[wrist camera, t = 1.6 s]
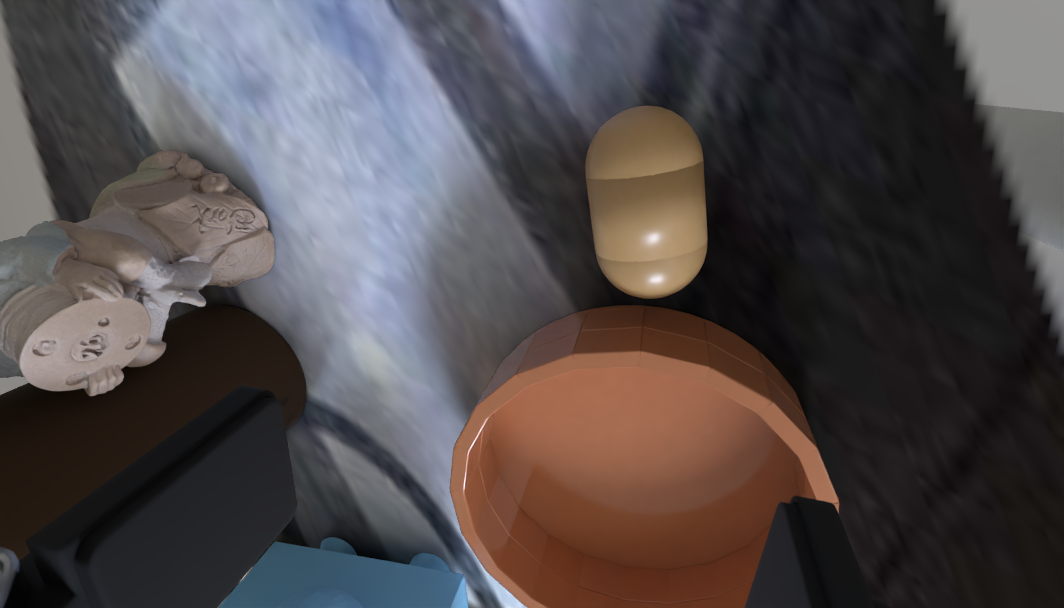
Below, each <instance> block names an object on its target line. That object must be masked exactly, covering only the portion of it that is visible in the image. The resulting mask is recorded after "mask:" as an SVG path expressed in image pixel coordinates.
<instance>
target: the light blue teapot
mask: <svg viewBox="0 0 1064 608" xmlns="http://www.w3.org/2000/svg"><path fill="white" fill-rule="evenodd" d="M219 608H468V601H467V593H466V585H465V577H464V575H463V574H458V573H452V572H450V569H449V567H448V565H447V564H446V563H445V562H444V561H443V560H442V559H441V558H439V557H438V556H436V555H433V554H430V553H420V554H417V555H415V556H414V557H413V559H412V560H411V562H410V564H409V565H407V564H401V563H395V562H390V561H384V560H378V559H373V558H367V557H361V556H357V554H356V552H355V550H354V549H353V548H352V546H350V545H349V544H348V543H347V542H345V541H344V540H341V539H339V538H335V537H329V538H326V539H324V540H323V541H322V543H321V549H315V548H310V547H304V546H298V545H292V544H286V543H281V542H274V543H273V544H272V545H271V547H270V548H269V549H268V550H267V551H266V553H265V554H264V555H263V556H262V557H261V558H260V560H259V561H258V562H257V563H256V564H255V566H254V567H253V568H252V569H251V570H250V571H249V573H248V574H247V575H246V576H245V577H244V579H243V580H242V581H241V582H240V583H239V584H238V586H237V587H236V588H235V589H234V590H233V591H232V593H231V594H230V595H229V596H228V597H227V599H226V600H225V601H224V602H223V603H222V604H221V606H220V607H219Z"/></svg>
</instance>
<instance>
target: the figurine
mask: <svg viewBox="0 0 1064 608" xmlns="http://www.w3.org/2000/svg"><path fill="white" fill-rule="evenodd" d="M274 244H275V243H274V236H273V234H272V232H270V231H268V219H267V217H266V215H265V213H264V212H262V211H261V210H260V209H258V208H257V206H256V204H255V203H254V202H253V201H252V200H251V199H250V198H249V197H248V196H247V195H246V194H244V193H243V192H242V191H241V190H238V189H236V188H235V186H233V185H232V184H231V183H230V182H229V179H228V177H227V176H226V175H224V174H221V173H213V172H212V171H210V170H207V169H206V168H205V167H203V165H202V163H201V162H199V161H197V160H195V159H190V158H189V156H188V155H187V154H186V153H182V152H179V151H175V150H160V151H159V152H157V153H156V154H155V155H152V156H149V157H147V158H145V159H144V160H143V162H140V163H139V166H138V167H137V172H135V173H133V174H130V175H128V176H126V177H124V178H122V179H120V180H118V181H115V182H113V183H111V184H109V185H108V186H106V188H105V189H104V190H103V191H102V192H101V193H100V195H99V196H98V198H97V200H96V202H95V204H94V205H93V208H92V210H91V213H90V217H89V219H87V220H83V221H81V222H77V223H72V222H68V221H63V220H55V221H50V222H48V221H45V222H43V223H41V224H38V225H36V226H34V227H33V228H31V229H30V230H29V232H28V233H27V235H26V236H25V237H22V236H21V237H18V238H13V239H9V240H5V241H3V242H0V378H4V377H7V378H8V377H13V376H21V377H24V378H25V379H26V380H27V381H28V382H29V383H30V384H32V385H34V386H36V387H38V388H41V389H45V390H50V391H69V390H77V389H81V388H84V389H85V391H86V393H87V394H88V395H89V396H95V395H97V394H103V393H106V392H107V391H109V390H112V389H114V388H115V386H117V385H119V384H120V383H121V382H122V381H123V378H124V374H123V372H122V370H121V369H122V368H124V367H125V366H128V367H141V366H146V365H148V364H150V363H152V362H154V361H155V360H157V359H158V358H159V357H160V356H161V355H162V354H163V353H164V351H165V349H166V343H164V342H162V341H161V340H162V336H163V331H164V330H165V324H166V320H167V319H168V317H169V315H168V313H169V310H170V308H171V305H172V304H173V303H174V302H184V303H189V304H193V305H196V306H199V307H204V306H205V304H206V300H205V298H204V297H203V296H202V295H201V294H200V293H199V292H198V291H199V290H201V289H203V287H204V286H206V285H215V286H222V287H233V286H237V285H239V284H240V283H242V282H243V281H245V280H248V279H255V278H258V277H261V276H263V275H265V274H267V273H268V272H269V271H270V270H271V268H272V266H273V264H274V260H275V259H274V258H275V249H274V248H275V247H274Z"/></svg>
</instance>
